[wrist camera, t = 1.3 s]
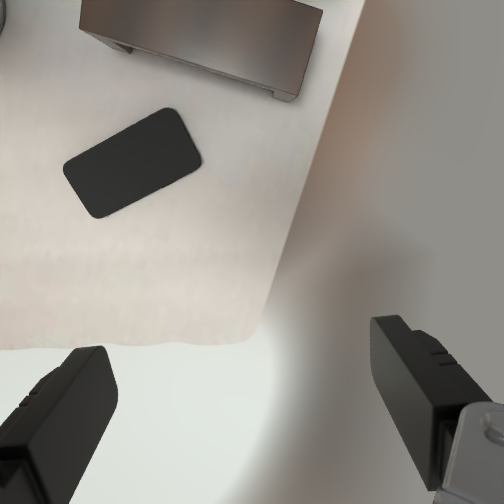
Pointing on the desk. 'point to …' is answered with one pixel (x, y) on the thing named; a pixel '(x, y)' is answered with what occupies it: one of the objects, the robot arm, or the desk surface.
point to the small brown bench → (214, 36)
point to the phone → (133, 163)
